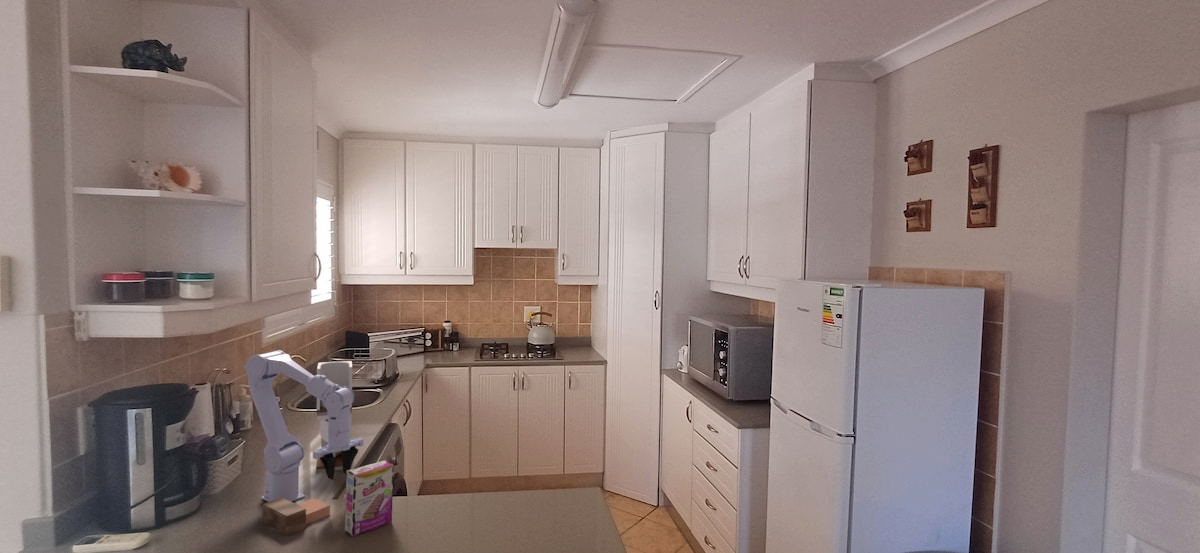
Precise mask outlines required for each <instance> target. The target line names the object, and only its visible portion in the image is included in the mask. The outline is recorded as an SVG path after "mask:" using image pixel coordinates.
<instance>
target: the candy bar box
mask: <svg viewBox="0 0 1200 553" xmlns="http://www.w3.org/2000/svg"><path fill="white" fill-rule="evenodd" d="M345 475H346V476H345V477H346V478H345V509H344V510H345V512H344V513H345V516H344V532H346V533H347V534H348V535H350V536H351V537H357V536H359V535H360V534H364V533H367V532H369V531H372V530H375V529H377V528H380V527H383V526H385V525H388V524H391V523H392V522H393V493H394V492H393V491H394V490H393V489H394V487H393V486H394V464H393V463H391V462H390V461H388V460H381V461H378V462H373V463H370V464H367V465H362V466H360V467H355V468H351V469H350V470H348V471H347V473H346V474H345Z"/></svg>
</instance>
